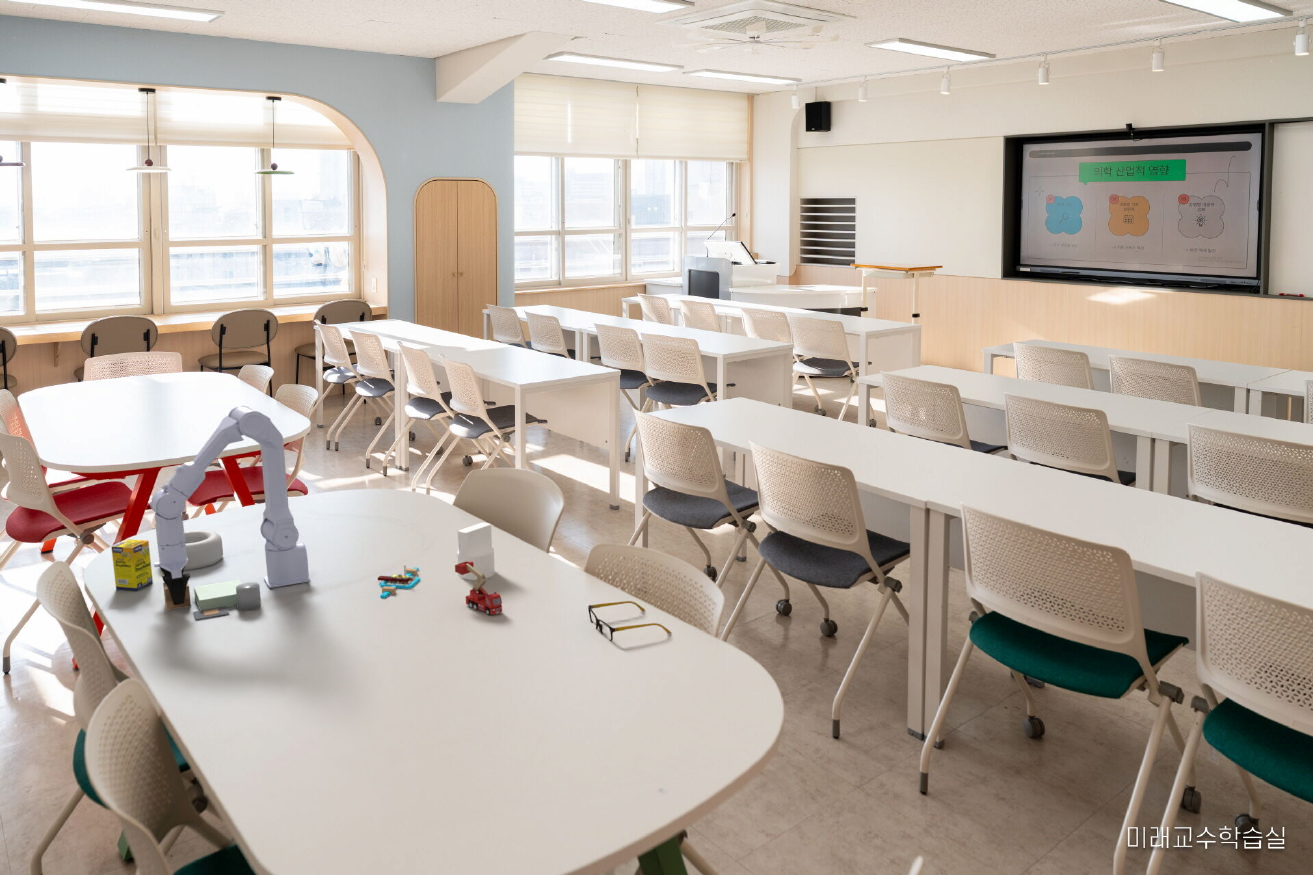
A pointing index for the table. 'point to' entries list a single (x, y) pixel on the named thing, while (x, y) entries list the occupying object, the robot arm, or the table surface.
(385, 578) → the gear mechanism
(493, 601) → the toy fire truck
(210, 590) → the sage slab
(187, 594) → the walnut cube
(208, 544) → the donut shape
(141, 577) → the supplement box
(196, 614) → the card
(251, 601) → the grey cylinder
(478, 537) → the base with upright slab
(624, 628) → the eyeglasses
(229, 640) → the table surface
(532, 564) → the table surface
